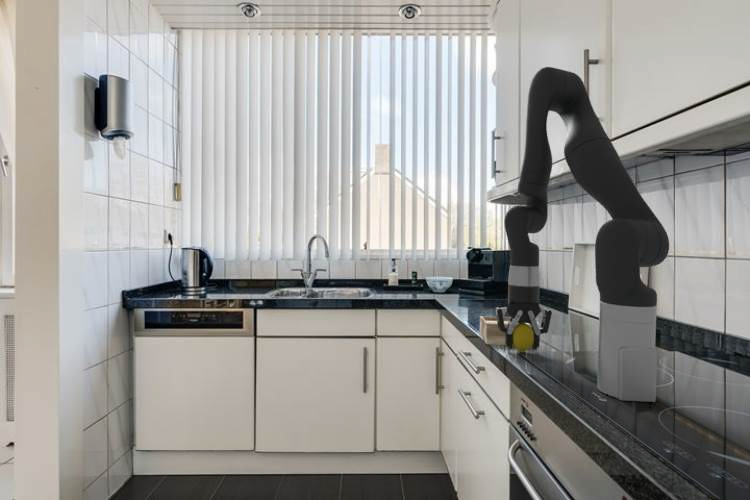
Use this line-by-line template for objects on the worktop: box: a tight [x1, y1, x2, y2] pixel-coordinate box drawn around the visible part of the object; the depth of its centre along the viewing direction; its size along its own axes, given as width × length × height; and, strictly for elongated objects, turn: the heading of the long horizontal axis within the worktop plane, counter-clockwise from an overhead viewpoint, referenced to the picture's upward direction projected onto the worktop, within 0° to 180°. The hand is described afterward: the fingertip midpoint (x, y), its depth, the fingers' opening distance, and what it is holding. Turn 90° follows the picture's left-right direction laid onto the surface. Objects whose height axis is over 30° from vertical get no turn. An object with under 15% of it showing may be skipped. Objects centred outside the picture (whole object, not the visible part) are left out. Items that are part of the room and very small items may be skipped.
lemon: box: [512, 322, 534, 353], centre depth 104 cm, size 6×6×8 cm
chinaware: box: [425, 276, 454, 293], centre depth 225 cm, size 15×15×8 cm
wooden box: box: [479, 315, 519, 346], centre depth 117 cm, size 11×11×6 cm
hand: (522, 348), depth 104 cm, fingers closed on lemon, 5 cm apart
